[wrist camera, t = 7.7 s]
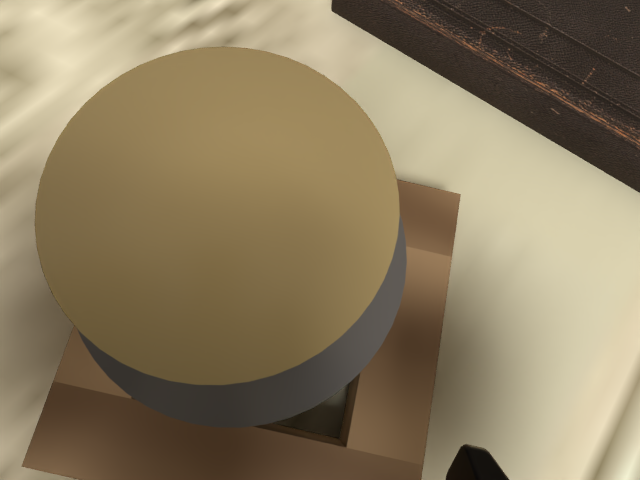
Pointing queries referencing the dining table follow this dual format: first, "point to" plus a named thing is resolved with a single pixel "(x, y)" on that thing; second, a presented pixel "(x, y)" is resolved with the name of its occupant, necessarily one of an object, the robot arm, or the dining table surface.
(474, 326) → the dining table surface
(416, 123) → the dining table surface
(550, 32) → the hardcover book
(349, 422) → the brown square frame
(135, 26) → the dining table surface
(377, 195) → the grey and tan cylinder
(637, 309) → the dining table surface
